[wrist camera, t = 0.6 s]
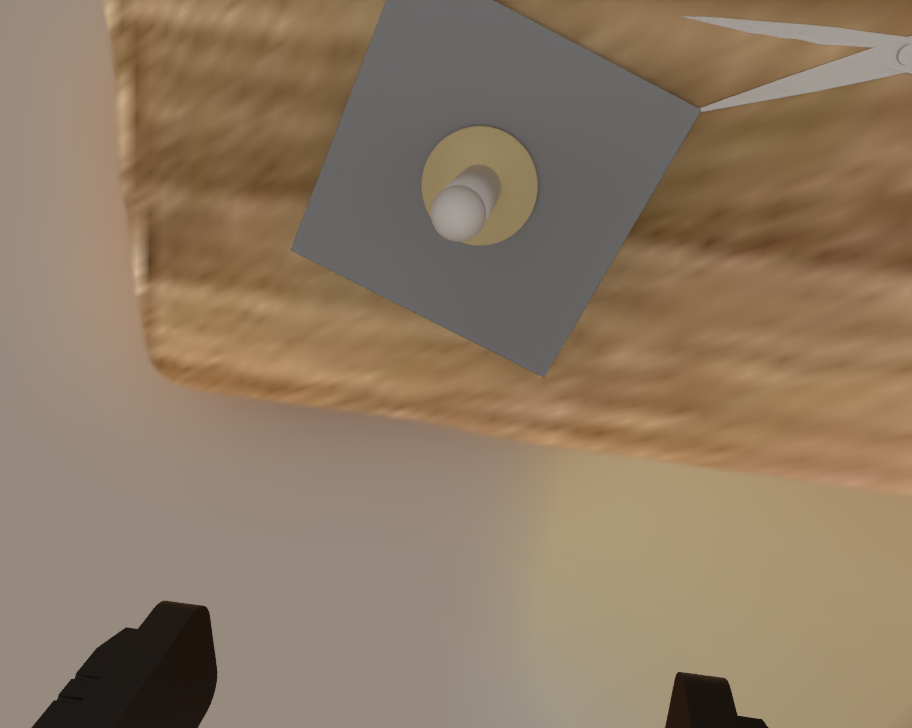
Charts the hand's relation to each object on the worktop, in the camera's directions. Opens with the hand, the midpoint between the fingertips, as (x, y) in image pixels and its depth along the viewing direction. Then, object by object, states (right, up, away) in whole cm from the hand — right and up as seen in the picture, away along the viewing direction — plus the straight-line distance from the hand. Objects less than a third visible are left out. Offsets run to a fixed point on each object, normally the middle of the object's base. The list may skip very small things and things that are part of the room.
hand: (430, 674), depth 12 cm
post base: (+2, +14, +22) cm, 26 cm away
